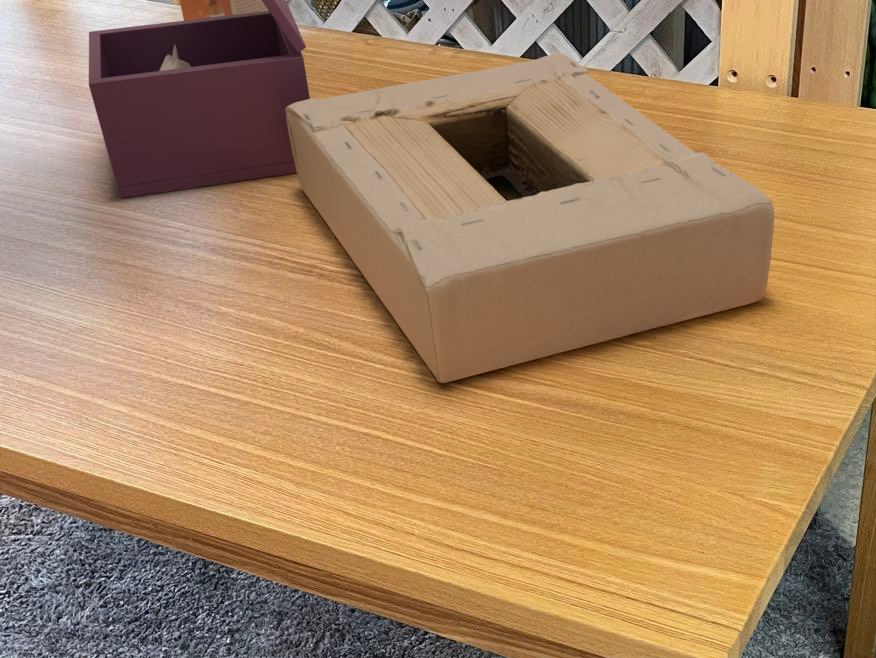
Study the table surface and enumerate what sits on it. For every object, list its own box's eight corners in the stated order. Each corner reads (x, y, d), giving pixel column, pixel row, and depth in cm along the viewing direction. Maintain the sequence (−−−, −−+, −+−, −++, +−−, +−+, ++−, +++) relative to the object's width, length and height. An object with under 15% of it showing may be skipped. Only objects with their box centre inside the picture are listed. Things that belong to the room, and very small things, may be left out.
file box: (120, 198, 92) (88, 83, 86) (117, 138, 101) (88, 31, 95) (321, 169, 95) (303, 56, 89) (300, 114, 104) (283, 8, 98)
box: (292, 193, 92) (437, 392, 69) (276, 93, 87) (426, 272, 64) (560, 141, 99) (771, 305, 76) (559, 45, 94) (784, 191, 72)
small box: (192, 66, 115) (166, -51, 108) (237, 51, 118) (215, -64, 111) (244, 83, 111) (221, -37, 104) (289, 66, 114) (270, -51, 107)
